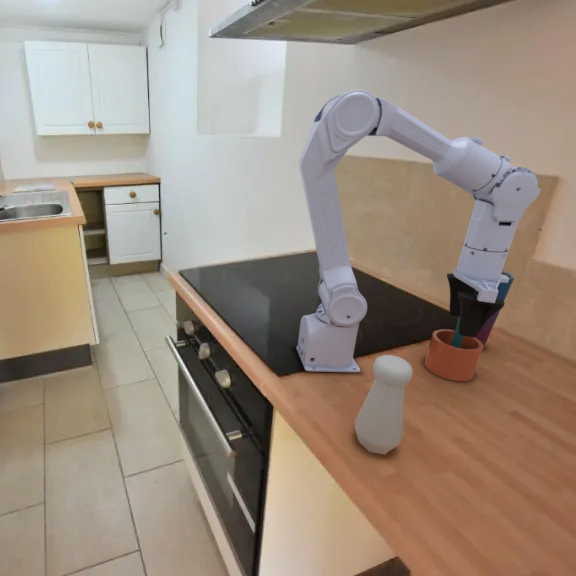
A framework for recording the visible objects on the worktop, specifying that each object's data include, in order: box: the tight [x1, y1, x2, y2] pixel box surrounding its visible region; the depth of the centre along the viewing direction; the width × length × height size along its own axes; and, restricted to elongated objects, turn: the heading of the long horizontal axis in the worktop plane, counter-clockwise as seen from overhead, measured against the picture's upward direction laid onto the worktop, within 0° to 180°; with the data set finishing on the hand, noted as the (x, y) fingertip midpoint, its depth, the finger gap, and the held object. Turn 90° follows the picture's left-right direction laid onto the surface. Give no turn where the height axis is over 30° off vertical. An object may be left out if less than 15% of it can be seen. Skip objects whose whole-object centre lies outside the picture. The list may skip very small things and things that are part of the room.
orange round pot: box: [424, 328, 484, 382], centre depth 66 cm, size 7×7×6 cm
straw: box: [451, 317, 464, 348], centre depth 65 cm, size 1×1×10 cm
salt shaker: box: [353, 354, 413, 456], centre depth 49 cm, size 6×6×13 cm
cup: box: [455, 269, 515, 349], centre depth 72 cm, size 7×7×15 cm
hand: (461, 325), depth 64 cm, fingers open, 7 cm apart
